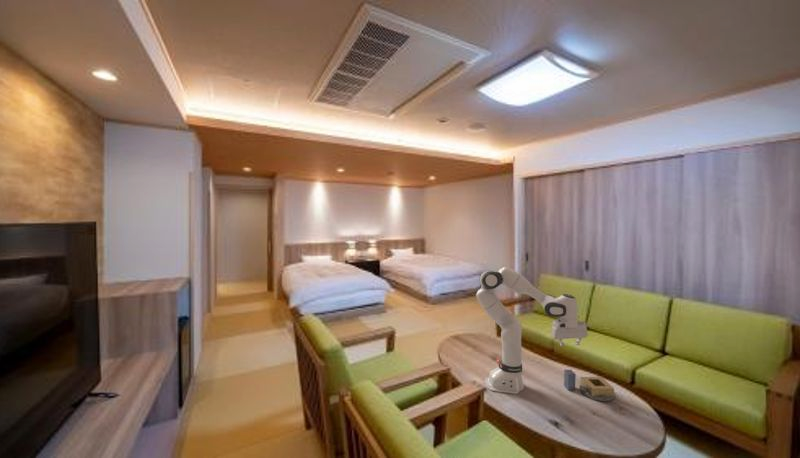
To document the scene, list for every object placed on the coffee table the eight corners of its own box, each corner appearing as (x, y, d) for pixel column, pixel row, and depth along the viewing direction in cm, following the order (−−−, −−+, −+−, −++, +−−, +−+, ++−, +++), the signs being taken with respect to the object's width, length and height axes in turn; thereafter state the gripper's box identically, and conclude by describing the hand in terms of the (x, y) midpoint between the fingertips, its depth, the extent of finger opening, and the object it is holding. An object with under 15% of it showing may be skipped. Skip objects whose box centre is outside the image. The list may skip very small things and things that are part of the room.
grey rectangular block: (568, 390, 182) (568, 374, 181) (564, 385, 187) (564, 369, 186) (575, 390, 182) (575, 374, 181) (570, 385, 187) (571, 369, 186)
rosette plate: (589, 401, 171) (589, 391, 171) (573, 384, 188) (574, 374, 188) (621, 402, 170) (621, 391, 170) (602, 384, 187) (603, 374, 187)
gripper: (583, 319, 186) (583, 341, 187) (549, 321, 185) (550, 344, 186) (589, 323, 180) (590, 346, 181) (555, 325, 179) (555, 348, 180)
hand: (569, 345), depth 183 cm, fingers open, 8 cm apart
